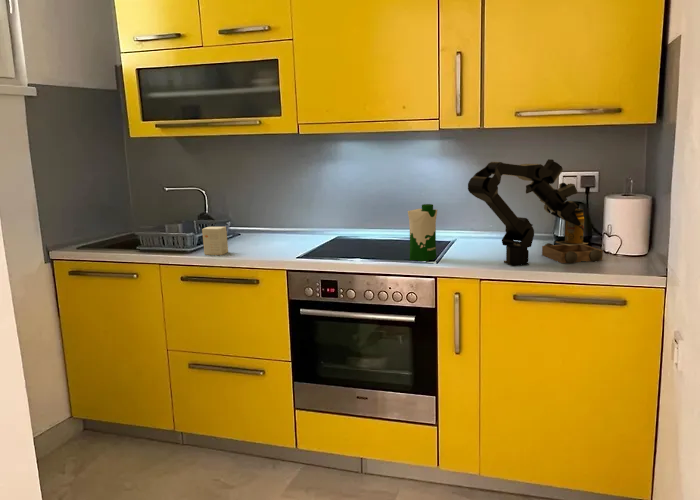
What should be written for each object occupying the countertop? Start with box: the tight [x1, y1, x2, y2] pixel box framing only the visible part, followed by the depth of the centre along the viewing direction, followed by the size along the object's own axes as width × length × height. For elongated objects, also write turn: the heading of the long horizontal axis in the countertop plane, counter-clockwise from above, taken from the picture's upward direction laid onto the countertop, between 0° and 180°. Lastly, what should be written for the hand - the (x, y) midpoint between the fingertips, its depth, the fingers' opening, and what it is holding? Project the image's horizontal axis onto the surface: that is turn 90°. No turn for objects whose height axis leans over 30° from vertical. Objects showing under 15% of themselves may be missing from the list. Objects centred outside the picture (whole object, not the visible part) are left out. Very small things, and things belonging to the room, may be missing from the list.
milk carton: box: [407, 203, 438, 262], centre depth 222 cm, size 9×9×20 cm
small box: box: [201, 226, 229, 256], centre depth 247 cm, size 8×6×10 cm
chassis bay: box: [541, 242, 604, 264], centre depth 218 cm, size 15×16×4 cm
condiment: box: [556, 208, 589, 246], centre depth 216 cm, size 7×8×12 cm
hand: (576, 223), depth 216 cm, fingers closed on condiment, 6 cm apart
